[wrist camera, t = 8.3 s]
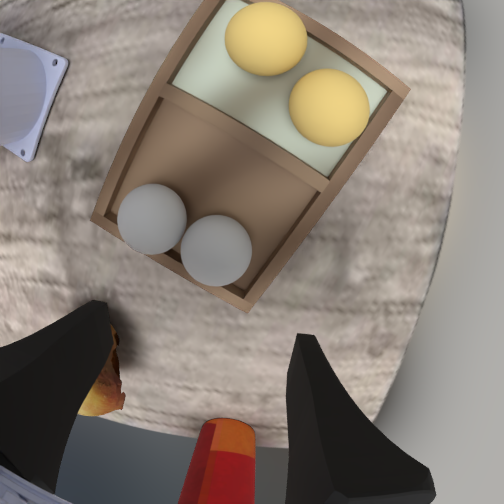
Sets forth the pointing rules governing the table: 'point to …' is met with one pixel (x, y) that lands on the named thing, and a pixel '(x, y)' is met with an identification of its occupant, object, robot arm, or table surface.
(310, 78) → the ochre ball
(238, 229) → the grey ball
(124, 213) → the grey ball
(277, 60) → the ochre ball
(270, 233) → the sorting board
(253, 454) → the paper cup
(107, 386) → the fruit
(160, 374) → the table surface
